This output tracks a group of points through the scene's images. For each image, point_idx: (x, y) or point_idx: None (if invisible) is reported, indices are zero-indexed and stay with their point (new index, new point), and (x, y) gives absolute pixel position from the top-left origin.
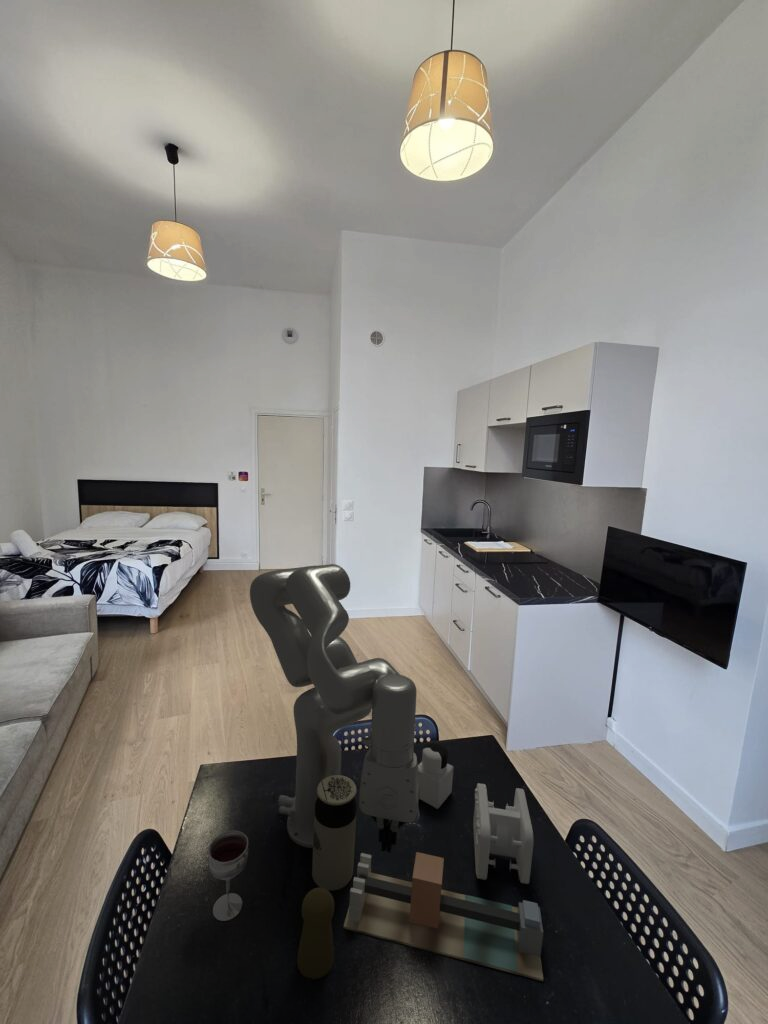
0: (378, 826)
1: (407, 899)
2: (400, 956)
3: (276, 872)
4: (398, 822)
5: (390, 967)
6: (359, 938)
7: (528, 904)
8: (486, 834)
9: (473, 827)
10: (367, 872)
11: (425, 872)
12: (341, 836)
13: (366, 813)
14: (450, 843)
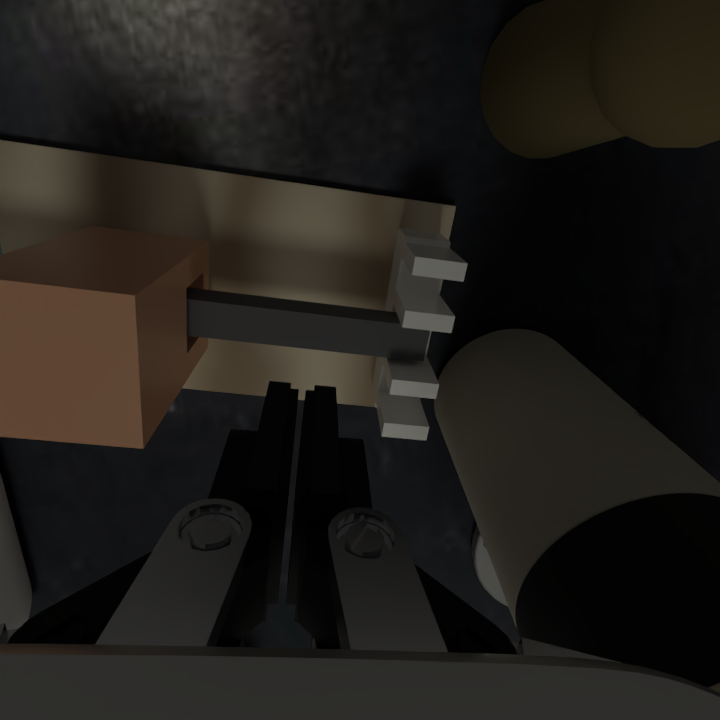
0: (385, 531)
1: (213, 295)
2: (233, 125)
3: (692, 368)
4: (125, 606)
5: (266, 78)
6: (392, 175)
7: None
8: None
9: (22, 596)
10: (391, 370)
11: (64, 337)
12: (581, 465)
13: (666, 693)
14: (110, 536)
